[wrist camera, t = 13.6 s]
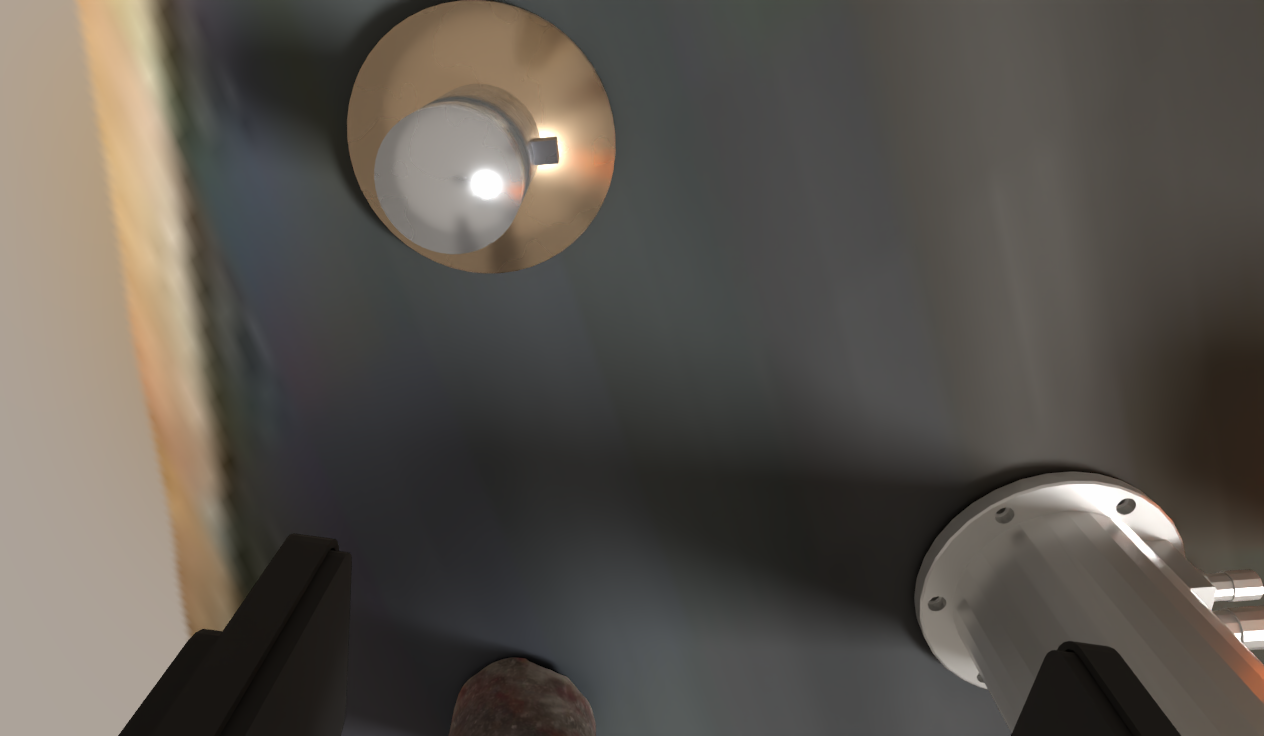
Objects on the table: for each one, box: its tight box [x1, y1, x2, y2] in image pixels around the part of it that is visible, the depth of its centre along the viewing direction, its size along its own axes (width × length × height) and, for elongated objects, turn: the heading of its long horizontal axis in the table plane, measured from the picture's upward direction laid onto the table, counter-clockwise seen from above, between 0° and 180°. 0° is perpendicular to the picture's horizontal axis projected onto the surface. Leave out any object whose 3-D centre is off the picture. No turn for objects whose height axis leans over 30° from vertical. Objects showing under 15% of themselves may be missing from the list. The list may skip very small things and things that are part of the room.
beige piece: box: [347, 0, 615, 273], centre depth 29 cm, size 10×10×8 cm
